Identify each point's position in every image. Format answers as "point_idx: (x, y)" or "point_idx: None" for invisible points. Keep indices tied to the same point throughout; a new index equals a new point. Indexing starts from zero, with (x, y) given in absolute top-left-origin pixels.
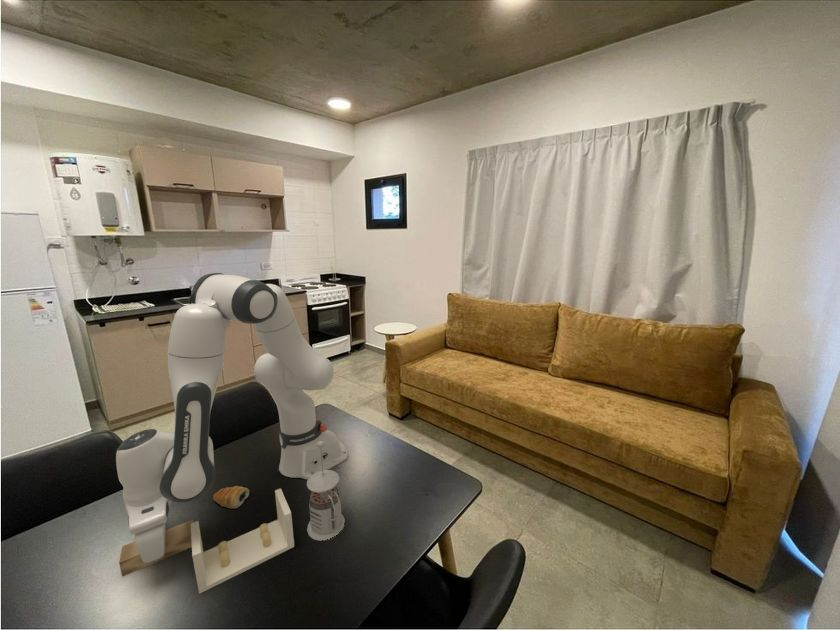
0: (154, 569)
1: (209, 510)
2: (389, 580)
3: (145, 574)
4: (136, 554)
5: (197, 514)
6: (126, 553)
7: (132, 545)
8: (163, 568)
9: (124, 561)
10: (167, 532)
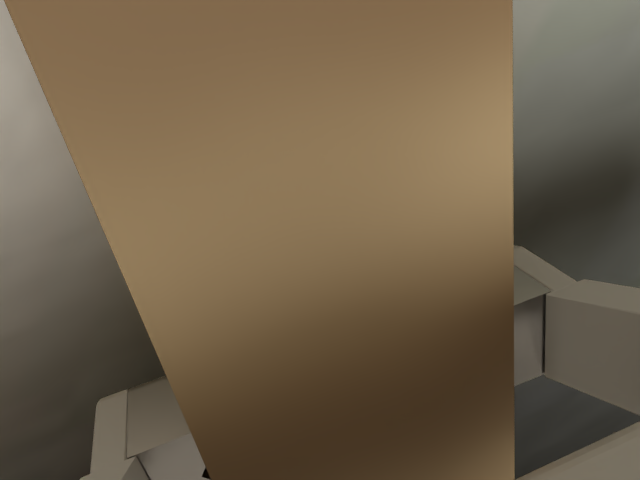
0: (65, 333)
1: None
2: None
3: (6, 267)
4: (152, 242)
5: (610, 407)
6: (257, 18)
7: (434, 67)
8: (56, 414)
9: (36, 46)
10: (457, 460)
